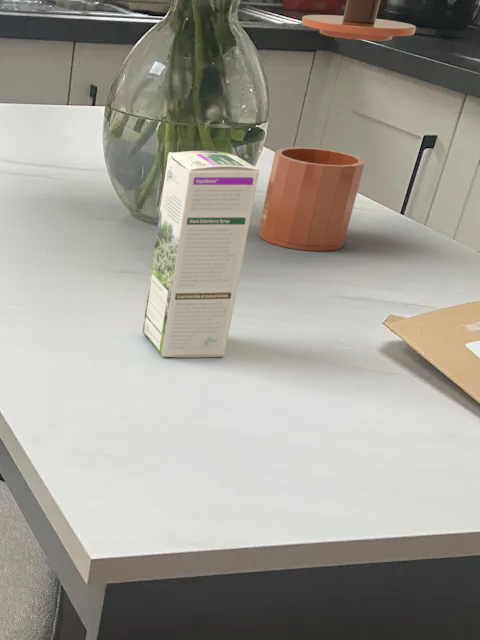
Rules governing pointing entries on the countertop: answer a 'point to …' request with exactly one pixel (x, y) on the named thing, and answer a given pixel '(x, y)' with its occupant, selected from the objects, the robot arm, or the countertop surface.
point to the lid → (358, 23)
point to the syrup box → (198, 252)
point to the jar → (310, 198)
